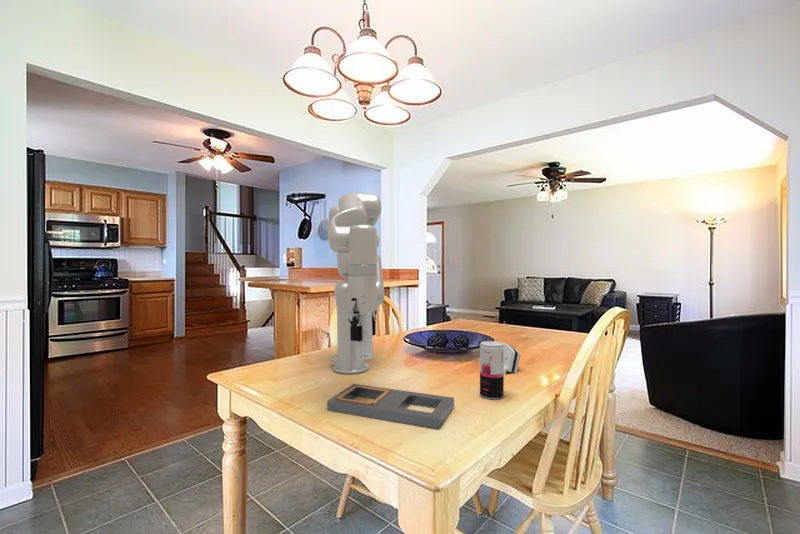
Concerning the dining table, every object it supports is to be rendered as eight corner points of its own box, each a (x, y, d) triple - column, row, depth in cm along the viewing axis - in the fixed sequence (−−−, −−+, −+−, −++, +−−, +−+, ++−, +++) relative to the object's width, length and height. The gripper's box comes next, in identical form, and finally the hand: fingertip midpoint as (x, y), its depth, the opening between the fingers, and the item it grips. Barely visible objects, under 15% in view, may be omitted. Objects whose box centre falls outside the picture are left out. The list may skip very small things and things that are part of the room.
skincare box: (373, 359, 99) (373, 313, 99) (356, 360, 98) (356, 313, 98) (370, 353, 105) (370, 310, 105) (354, 354, 104) (353, 310, 104)
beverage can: (487, 401, 104) (487, 346, 104) (475, 392, 110) (475, 341, 110) (508, 398, 106) (508, 345, 106) (495, 390, 112) (496, 340, 112)
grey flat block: (327, 410, 98) (327, 399, 98) (353, 392, 111) (353, 383, 111) (439, 429, 87) (439, 417, 87) (453, 407, 100) (453, 396, 100)
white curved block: (477, 362, 143) (485, 336, 144) (487, 365, 144) (495, 339, 145) (504, 374, 127) (513, 346, 128) (515, 378, 129) (524, 349, 130)
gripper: (365, 270, 111) (365, 331, 111) (333, 272, 95) (334, 343, 95) (389, 270, 108) (389, 332, 108) (360, 273, 92) (360, 346, 92)
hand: (363, 337), depth 102 cm, fingers closed on skincare box, 7 cm apart
